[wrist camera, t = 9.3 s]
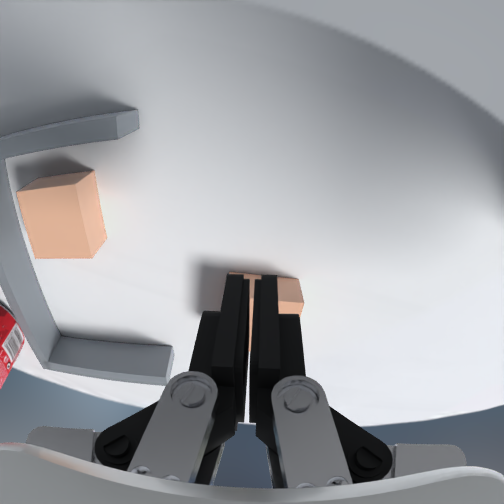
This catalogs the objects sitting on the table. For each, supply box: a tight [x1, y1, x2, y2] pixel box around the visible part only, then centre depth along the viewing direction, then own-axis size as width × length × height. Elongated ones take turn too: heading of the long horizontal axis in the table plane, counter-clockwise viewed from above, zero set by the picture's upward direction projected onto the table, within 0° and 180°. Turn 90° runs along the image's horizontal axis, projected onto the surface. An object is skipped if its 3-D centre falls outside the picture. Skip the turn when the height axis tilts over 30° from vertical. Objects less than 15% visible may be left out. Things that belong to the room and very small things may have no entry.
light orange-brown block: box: [16, 171, 107, 259], centre depth 19 cm, size 5×5×3 cm
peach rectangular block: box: [229, 272, 304, 351], centre depth 23 cm, size 5×5×3 cm
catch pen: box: [0, 110, 174, 386], centre depth 20 cm, size 13×20×4 cm, turn 179°
